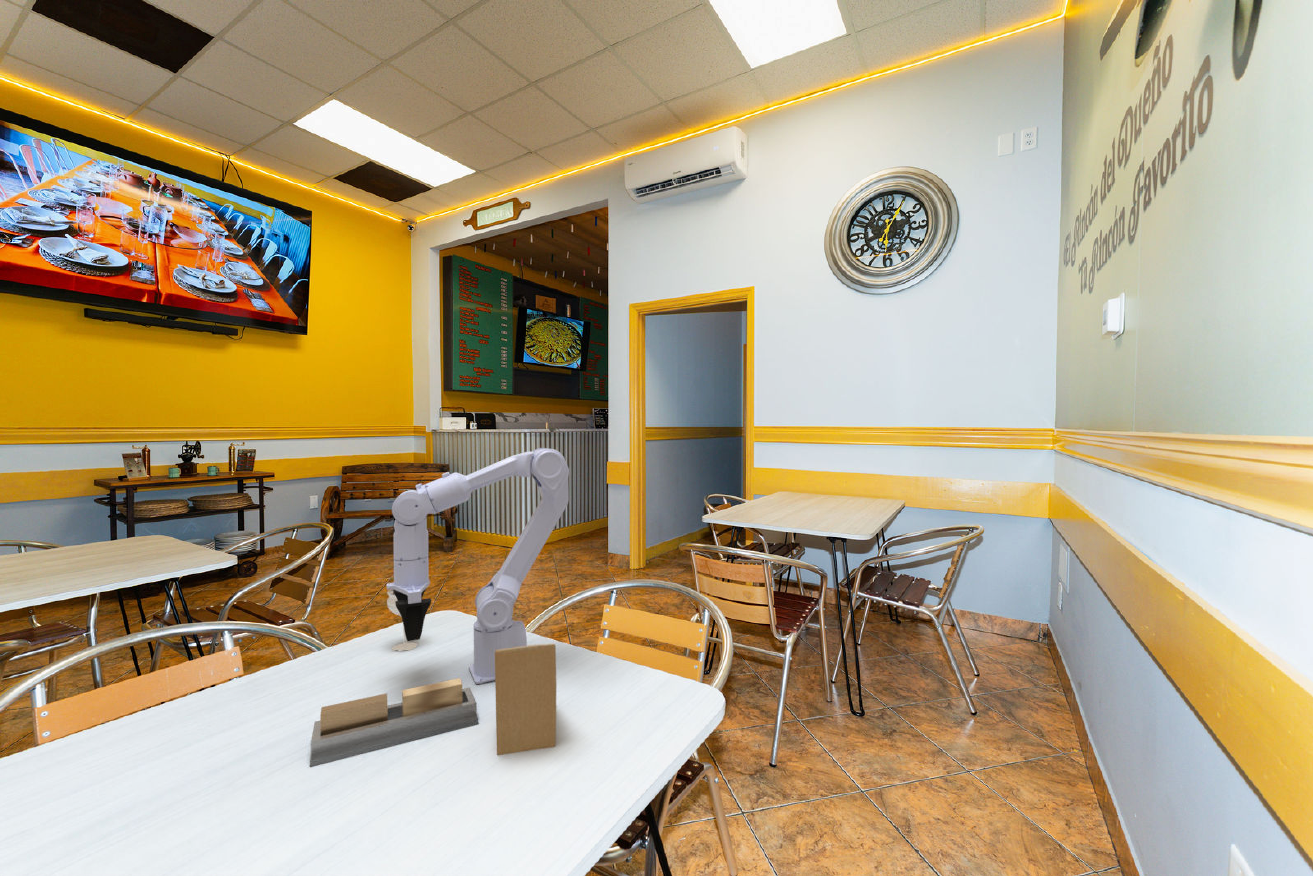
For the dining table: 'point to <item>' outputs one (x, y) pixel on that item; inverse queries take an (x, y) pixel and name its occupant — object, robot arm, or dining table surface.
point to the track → (381, 726)
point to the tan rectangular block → (431, 697)
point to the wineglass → (394, 609)
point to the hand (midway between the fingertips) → (411, 632)
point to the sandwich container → (525, 698)
